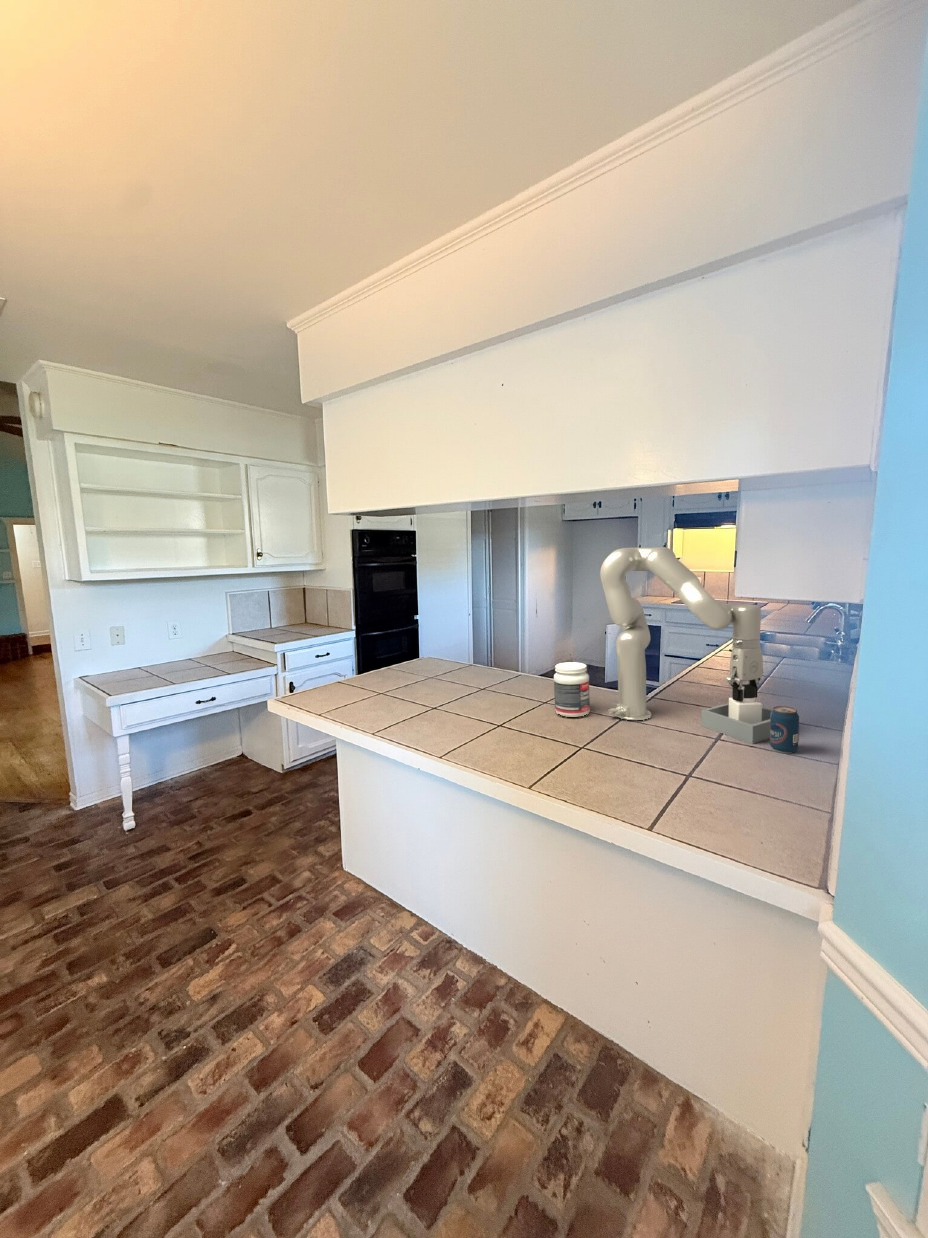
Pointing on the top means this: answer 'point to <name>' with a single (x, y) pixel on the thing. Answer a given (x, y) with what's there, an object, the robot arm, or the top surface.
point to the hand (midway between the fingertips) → (744, 698)
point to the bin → (736, 724)
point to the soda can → (784, 729)
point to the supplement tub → (571, 689)
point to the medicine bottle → (746, 706)
